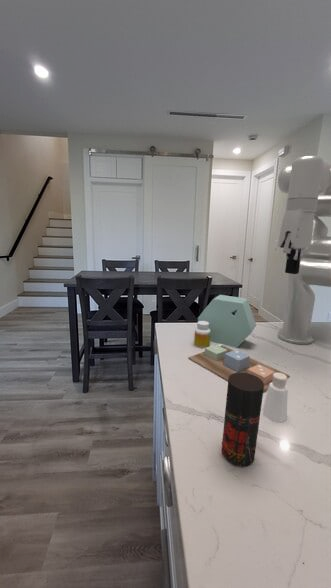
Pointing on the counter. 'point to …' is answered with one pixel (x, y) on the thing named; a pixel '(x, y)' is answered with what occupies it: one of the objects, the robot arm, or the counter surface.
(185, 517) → the counter surface
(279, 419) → the pepper shaker
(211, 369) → the board
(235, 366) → the tile two
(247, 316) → the mint hexagonal clock
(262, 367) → the tile three
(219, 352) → the tile one
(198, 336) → the supplement bottle
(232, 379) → the deodorant
